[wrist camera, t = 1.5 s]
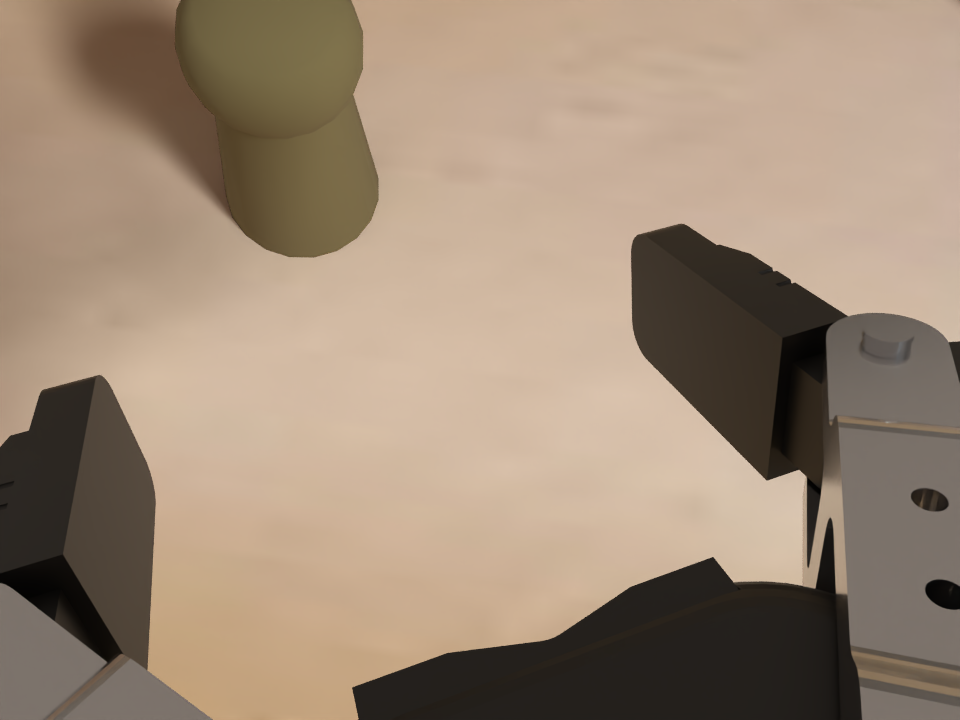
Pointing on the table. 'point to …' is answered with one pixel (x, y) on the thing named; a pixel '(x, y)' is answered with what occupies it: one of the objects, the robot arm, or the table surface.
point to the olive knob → (284, 116)
